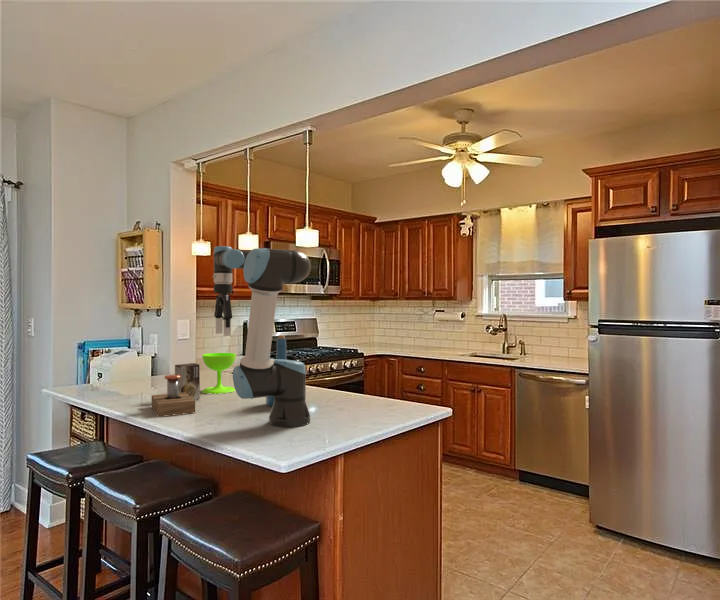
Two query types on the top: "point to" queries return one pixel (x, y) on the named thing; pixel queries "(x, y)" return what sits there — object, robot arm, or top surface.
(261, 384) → the robot arm
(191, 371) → the coffee box
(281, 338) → the wine bottle
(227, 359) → the wineglass
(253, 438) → the top surface
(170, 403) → the walnut socket block
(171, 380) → the metal pin
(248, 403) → the top surface
